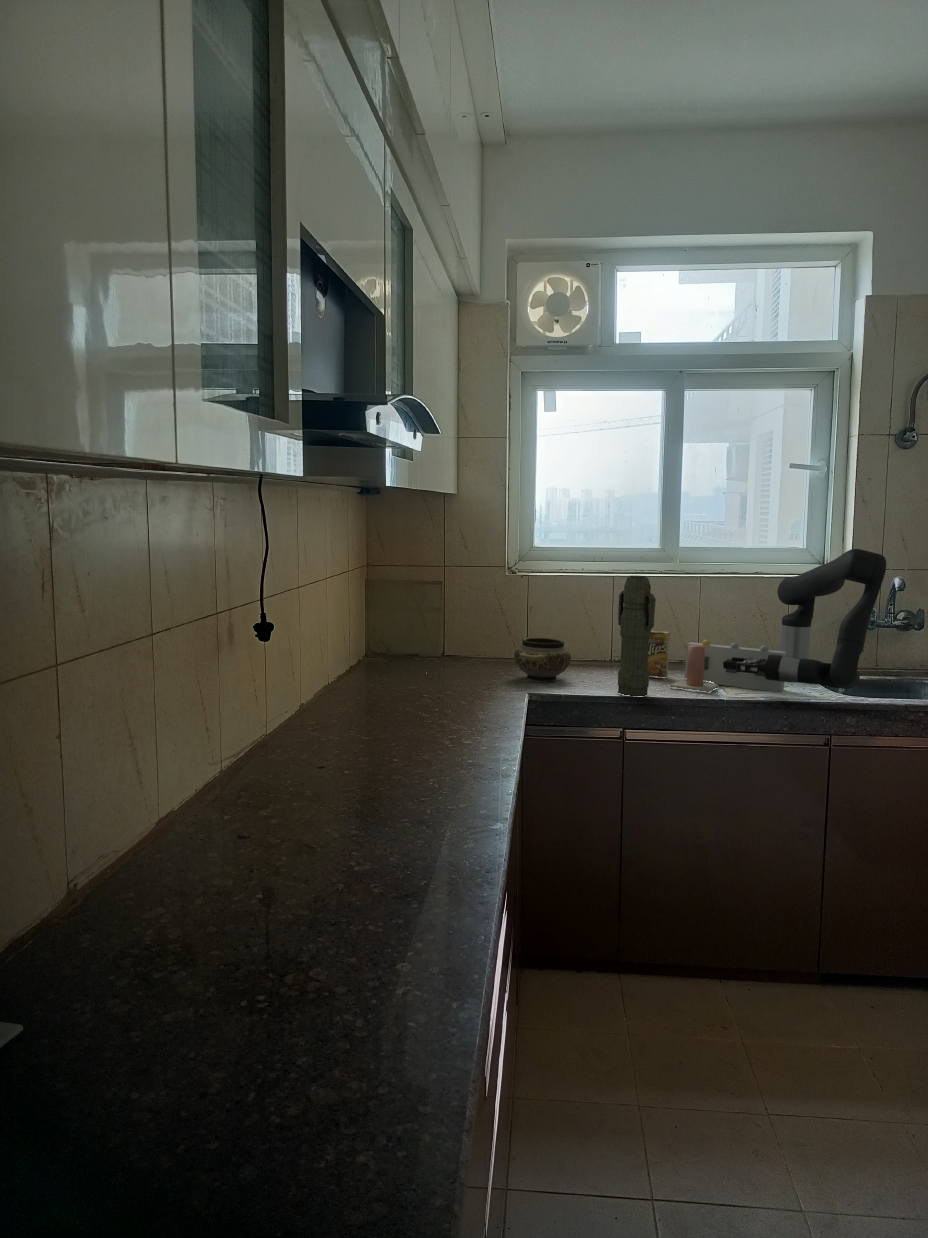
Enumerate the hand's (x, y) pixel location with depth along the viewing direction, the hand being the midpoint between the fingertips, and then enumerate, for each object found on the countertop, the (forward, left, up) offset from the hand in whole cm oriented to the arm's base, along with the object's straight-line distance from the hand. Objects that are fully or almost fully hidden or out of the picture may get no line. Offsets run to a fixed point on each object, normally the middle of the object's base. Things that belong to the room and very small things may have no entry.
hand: (727, 662), depth 260 cm
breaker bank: (-13, -2, -9) cm, 16 cm away
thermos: (+20, -22, -9) cm, 31 cm away
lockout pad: (0, -10, -9) cm, 13 cm away
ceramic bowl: (+17, -54, -9) cm, 57 cm away
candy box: (-10, -27, -9) cm, 30 cm away
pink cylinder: (0, -10, -8) cm, 13 cm away
